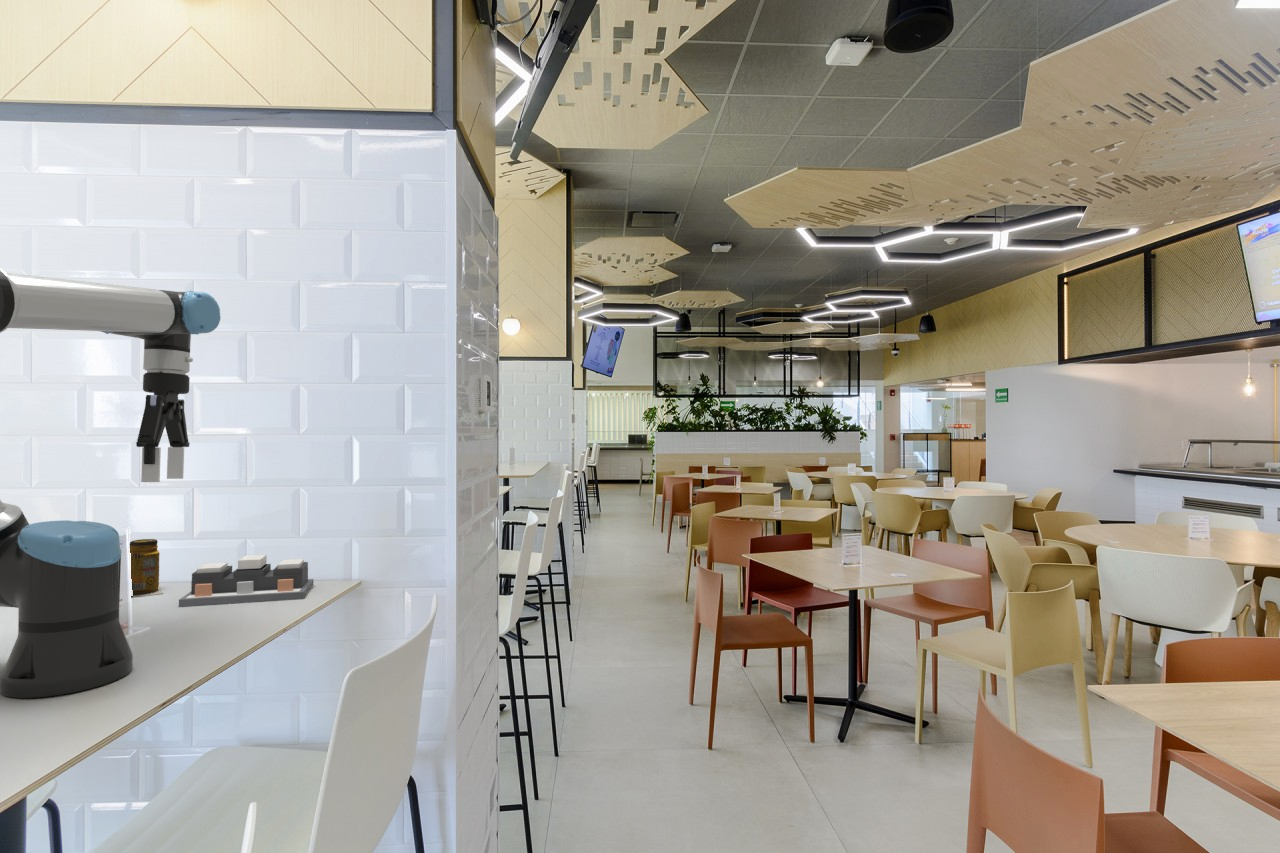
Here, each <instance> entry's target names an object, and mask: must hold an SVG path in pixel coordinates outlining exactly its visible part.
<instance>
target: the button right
mask: <svg viewBox="0 0 1280 853" xmlns="http://www.w3.org/2000/svg"><path fill="white" fill-rule="evenodd" d="M304 562H305V558H298V559H297V558H295V559H283V560H281V561H280V562H279V563H278V564H277V566H278V569H288V568H301V567H302V566H303V565H304Z"/></svg>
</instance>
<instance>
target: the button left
mask: <svg viewBox="0 0 1280 853" xmlns="http://www.w3.org/2000/svg"><path fill="white" fill-rule="evenodd" d="M228 566H229V564H228V562H215V563H214V562H211V563H205V564H202V565H201V566H199V567H197V568H196V571H197V573H210V572H222V571H224V570H225V569H226V568H228Z"/></svg>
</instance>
